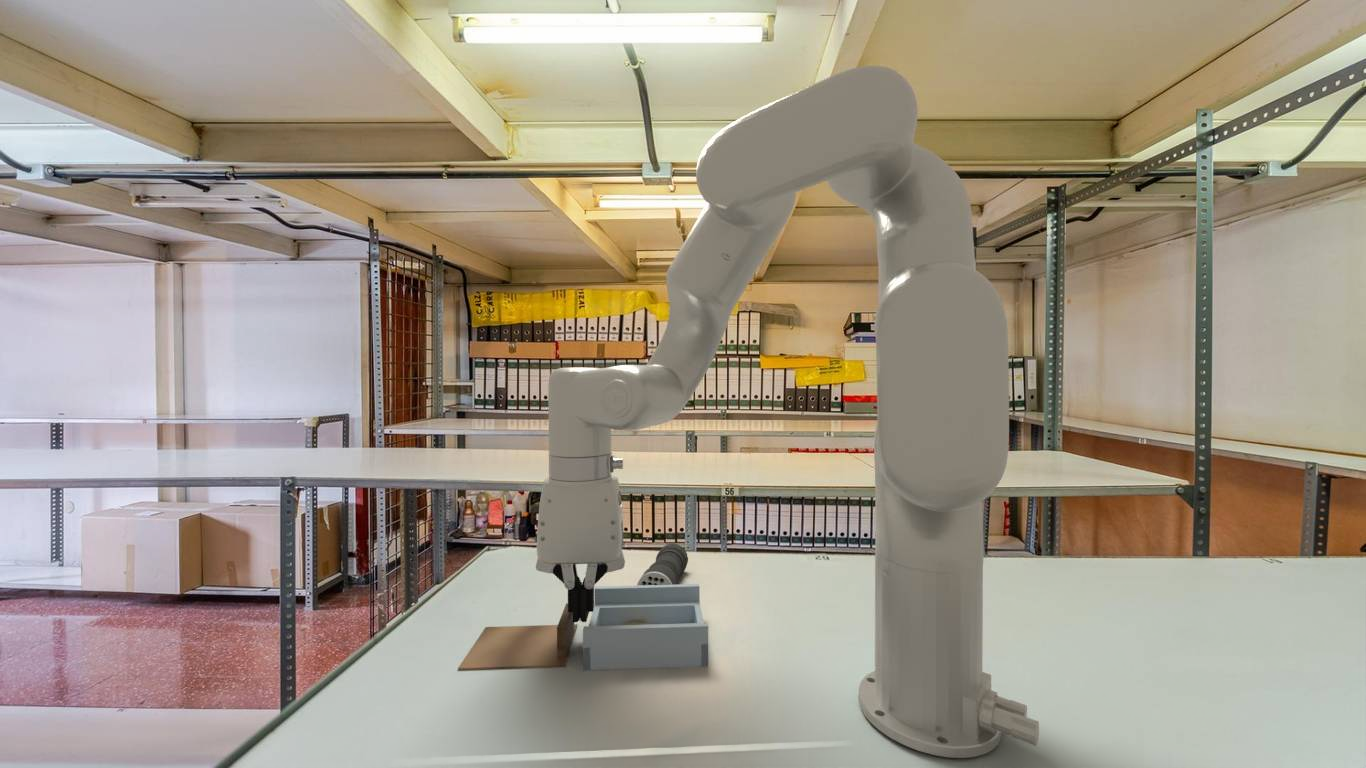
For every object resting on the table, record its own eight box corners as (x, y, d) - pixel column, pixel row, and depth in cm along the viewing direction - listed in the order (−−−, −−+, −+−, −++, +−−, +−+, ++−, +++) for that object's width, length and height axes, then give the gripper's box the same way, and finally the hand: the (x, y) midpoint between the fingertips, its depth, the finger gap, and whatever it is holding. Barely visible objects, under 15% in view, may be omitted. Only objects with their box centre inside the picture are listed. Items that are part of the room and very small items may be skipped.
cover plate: (577, 633, 68) (577, 597, 68) (564, 675, 59) (564, 633, 59) (485, 636, 68) (485, 600, 67) (458, 678, 58) (457, 637, 58)
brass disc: (652, 626, 68) (652, 620, 68) (652, 643, 64) (652, 637, 64) (618, 627, 68) (618, 621, 68) (616, 644, 63) (616, 638, 63)
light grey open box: (699, 620, 71) (698, 583, 71) (708, 670, 59) (708, 626, 59) (595, 623, 70) (595, 586, 70) (583, 674, 58) (583, 629, 58)
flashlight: (658, 570, 90) (658, 539, 90) (689, 572, 89) (689, 540, 89) (636, 609, 75) (636, 571, 75) (673, 611, 74) (673, 573, 74)
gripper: (642, 462, 68) (642, 602, 68) (526, 463, 67) (526, 605, 67) (640, 473, 60) (641, 630, 60) (509, 474, 59) (510, 634, 60)
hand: (581, 616), depth 64 cm, fingers closed
